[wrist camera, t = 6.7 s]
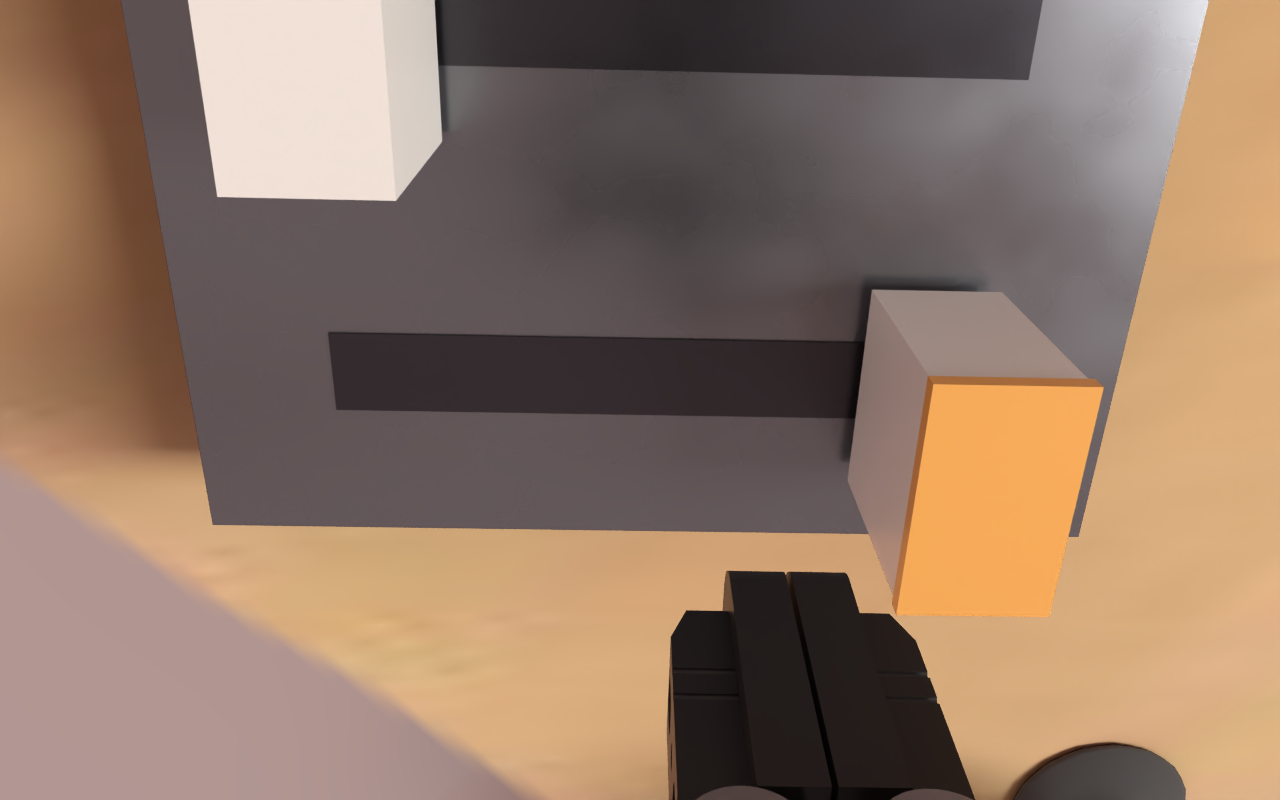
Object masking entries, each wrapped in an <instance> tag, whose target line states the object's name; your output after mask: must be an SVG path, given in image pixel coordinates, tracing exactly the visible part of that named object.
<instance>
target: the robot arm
mask: <svg viewBox="0 0 1280 800" xmlns="http://www.w3.org/2000/svg"><path fill="white" fill-rule="evenodd" d="M667 750H668V780H669V800H975V798H974V795H973V793H972V790H971V787H970V785H969V782H968V779H967V776H966V774H965V771H964V768H963V766H962V763H961V760H960V758H959V755H958V752H957V750H956V747H955V744H954V742H953V739H952V736H951V734H950V731H949V728H948V726H947V723H946V720H945V718H944V715H943V712H942V710H941V707H940V704H937V696H936V694H935V691H934V688H933V685H932V683H931V680H930V678H928V677H927V669H926V667H925V664H924V661H923V659H922V656H921V653H920V651H919V648H918V645H917V643H916V641H915V640H914V639H913V638H912V636H911V635H910V634H909V633H908V632H907V631H906V630H905V629H904V628H903V627H902V626H901V625H900V624H899V623H898V622H897V621H896V620H895V619H894V618H893V617H892V616H891V615H890V614H875V613H859V610H858V606H857V603H856V600H855V597H854V593H853V590H852V587H851V584H850V581H849V578H848V576H847V574H846V573H827V572H787V574H786V575H785V573H784V572H758V571H727V572H726V576H725V584H724V598H723V611H688V610H686V612H685V614H684V616H683V617H682V619H681V621H680V622H679V624H678V626H677V627H676V629H675V631H674V632H673V634H672V636H671V645H670V668H669V692H668V715H667Z"/></svg>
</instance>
